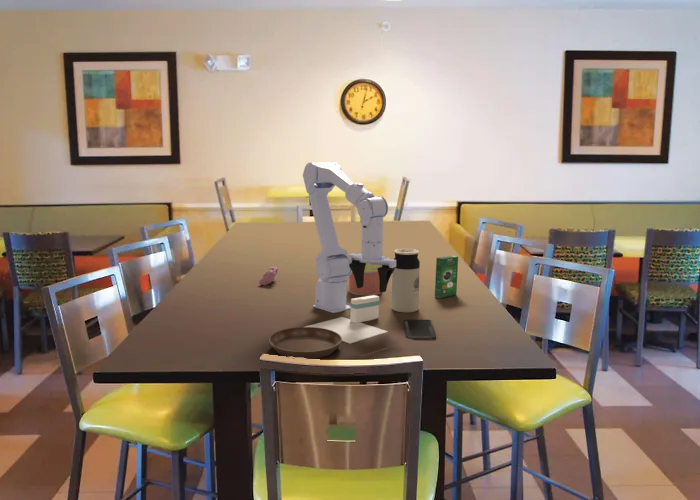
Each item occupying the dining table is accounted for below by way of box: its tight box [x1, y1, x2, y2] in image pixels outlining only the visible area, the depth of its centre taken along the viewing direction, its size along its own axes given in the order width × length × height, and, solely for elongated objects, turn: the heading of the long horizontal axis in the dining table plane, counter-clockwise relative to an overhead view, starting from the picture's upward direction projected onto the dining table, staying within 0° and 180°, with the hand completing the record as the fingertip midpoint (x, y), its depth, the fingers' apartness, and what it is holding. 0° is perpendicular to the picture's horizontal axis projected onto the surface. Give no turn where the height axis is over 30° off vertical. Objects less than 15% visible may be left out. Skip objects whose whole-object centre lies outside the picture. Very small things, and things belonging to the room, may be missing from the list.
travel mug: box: [391, 248, 421, 314], centre depth 185 cm, size 8×8×18 cm
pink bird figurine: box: [259, 266, 279, 286], centre depth 219 cm, size 10×5×7 cm, turn 179°
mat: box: [304, 316, 389, 345], centre depth 167 cm, size 18×14×1 cm
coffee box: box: [434, 255, 459, 299], centre depth 202 cm, size 8×3×13 cm, turn 129°
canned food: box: [348, 252, 384, 296], centre depth 208 cm, size 11×11×12 cm
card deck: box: [349, 295, 380, 323], centre depth 175 cm, size 2×9×6 cm, turn 133°
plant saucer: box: [268, 326, 343, 359], centre depth 152 cm, size 18×18×3 cm
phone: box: [403, 318, 437, 340], centre depth 167 cm, size 8×1×15 cm
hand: (371, 289), depth 173 cm, fingers open, 7 cm apart
